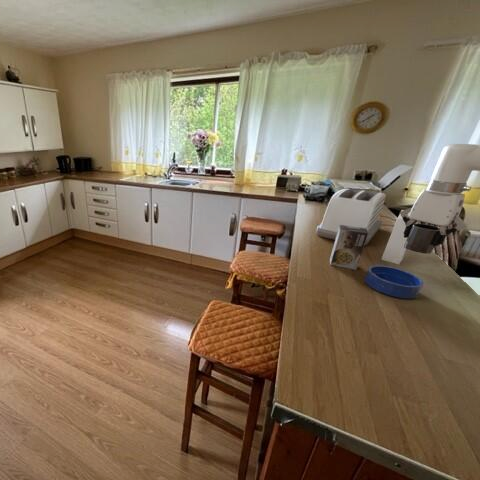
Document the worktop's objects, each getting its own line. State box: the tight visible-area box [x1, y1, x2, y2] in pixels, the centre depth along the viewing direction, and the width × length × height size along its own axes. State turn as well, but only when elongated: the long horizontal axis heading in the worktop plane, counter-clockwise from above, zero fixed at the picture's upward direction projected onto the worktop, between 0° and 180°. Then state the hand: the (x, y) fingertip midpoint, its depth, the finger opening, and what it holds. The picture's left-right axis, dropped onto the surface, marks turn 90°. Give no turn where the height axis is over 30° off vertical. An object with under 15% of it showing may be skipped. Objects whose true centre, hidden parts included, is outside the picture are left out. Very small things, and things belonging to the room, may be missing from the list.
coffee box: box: [329, 225, 368, 271], centre depth 103 cm, size 9×6×16 cm
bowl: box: [364, 265, 425, 300], centre depth 90 cm, size 15×15×5 cm
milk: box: [380, 209, 420, 265], centre depth 106 cm, size 6×6×22 cm
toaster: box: [315, 188, 387, 246], centre depth 139 cm, size 23×45×22 cm, turn 133°
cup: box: [404, 223, 440, 255], centre depth 84 cm, size 7×7×8 cm
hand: (420, 240), depth 84 cm, fingers closed on cup, 6 cm apart
